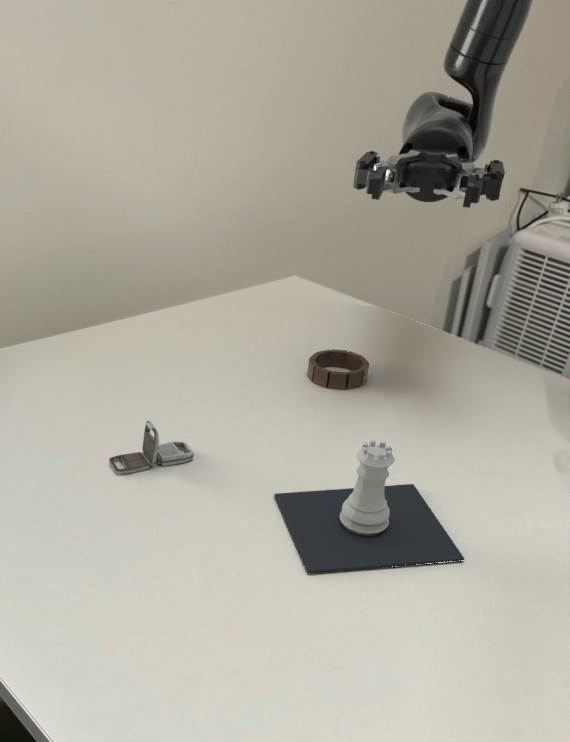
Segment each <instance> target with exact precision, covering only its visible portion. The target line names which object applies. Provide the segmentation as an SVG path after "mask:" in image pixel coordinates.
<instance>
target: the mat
mask: <svg viewBox="0 0 570 742" xmlns="http://www.w3.org/2000/svg"><path fill="white" fill-rule="evenodd" d="M354 488H355V487H350V488H338V489H321V490H308V491H293V492H278V493H274V496H273V497H274V500H275V502H276V504H277V507H278V509H279V511H280V514H281V516H282V518H283V520H284V522H285V525H286V528H287V531H288V532H289V535H290V537H291V536H292V537H291V539H292V541H293V544H294V543H295V544H294V546H295V548H296V550H298V551H297V553H298V555H299V557H300V560H301V559H302V560H301V562H302V565H303V567H304V566H305V567H304V569H305V568H306V569H305V571H306V570H307V571H306V574H307V573H310V574H309V575H312V574H311V573H320V574H324V573H323V572H326V573H325V574H328V573H327V572H332V573H339V572H338V571H344V572H354V571H355V570H357V571H366V569H367V570H368V569H369V570H379V569H378V568H381V569H386V568H385V567H392V566H393V567H394V568H396V567H395V566H405V565H406V567H408V566H407V565H416V564H425V563H426V564H427V563H436V562H437V563H438V562H444V561H445V562H447V561H448V562H449V561H459V560H460V561H461V560H464V561H465V557H464V556H463V554H462V552H461V551H460V550H459V548H458V547H457V546H456V544H455V542H454V541H453V539H452V538H451V537H450V536H449V534H448V532H447V531H446V529H445V528H444V526H443V525H442V523H441V522H440V521H439V519H438V517H437V516H436V515H435V513H434V512H433V511H432V509H431V508H430V506H429V505H428V503H427V502H426V501H425V499H424V497H423V496H422V494H421V493H420V492H419V490H418V489H417V487H416V485H415V484H414V483H409V484H408V483H407V484H394V485H385V490H384V496H385V499H386V501H387V506H388V507H389V511H390V514H389V518H388V519H389V525H388V526H387V527H386V528H385V530H383V531H382V532H380V533H378V534H375V535H367V536H366V535H359V534H356V533H353V532H351V531H349V530H348V529H347V528H345V526H344V525H343V523H342V522H341V520H340V513H341V512H342V505H343V503H344V502H345V501H346V500H347V499H348V498H349V495H350V494H352V492H353V490H354ZM383 567H384V568H383ZM375 568H377V569H375ZM362 569H363V570H362ZM352 570H353V571H352ZM355 572H356V571H355Z"/></svg>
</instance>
